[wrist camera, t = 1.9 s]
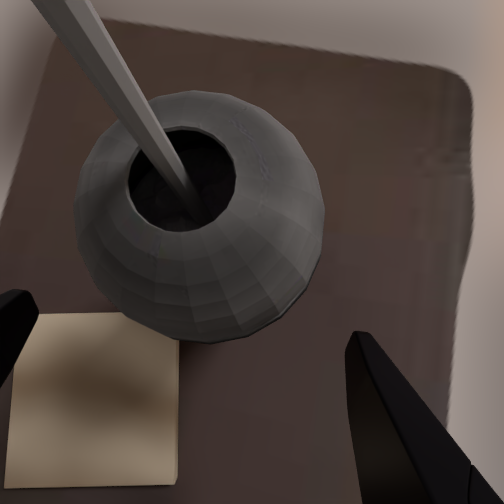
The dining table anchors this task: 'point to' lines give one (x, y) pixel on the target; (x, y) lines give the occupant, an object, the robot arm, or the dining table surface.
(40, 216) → the dining table surface
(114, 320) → the coaster board
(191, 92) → the beverage cup
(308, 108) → the dining table surface
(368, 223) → the dining table surface
